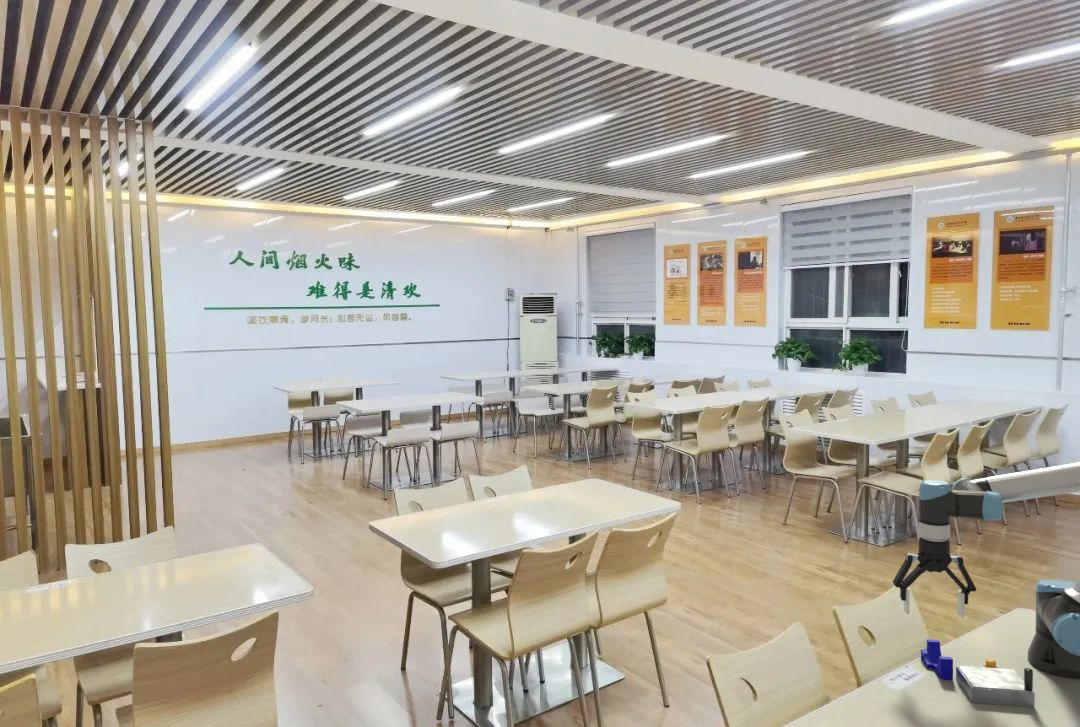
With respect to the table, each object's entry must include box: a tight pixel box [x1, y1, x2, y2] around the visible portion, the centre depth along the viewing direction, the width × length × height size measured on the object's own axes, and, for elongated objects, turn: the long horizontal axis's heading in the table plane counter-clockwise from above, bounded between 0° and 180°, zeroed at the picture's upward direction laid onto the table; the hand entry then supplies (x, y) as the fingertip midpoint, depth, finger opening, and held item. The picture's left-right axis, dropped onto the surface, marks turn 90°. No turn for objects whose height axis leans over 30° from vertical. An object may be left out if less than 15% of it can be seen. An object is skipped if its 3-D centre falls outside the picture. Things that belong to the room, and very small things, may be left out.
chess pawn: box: [982, 658, 999, 668], centre depth 198 cm, size 3×3×4 cm
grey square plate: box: [955, 665, 1036, 708], centre depth 187 cm, size 14×12×9 cm
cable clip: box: [920, 638, 954, 682], centre depth 201 cm, size 12×4×6 cm, turn 168°
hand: (933, 613), depth 200 cm, fingers open, 13 cm apart
